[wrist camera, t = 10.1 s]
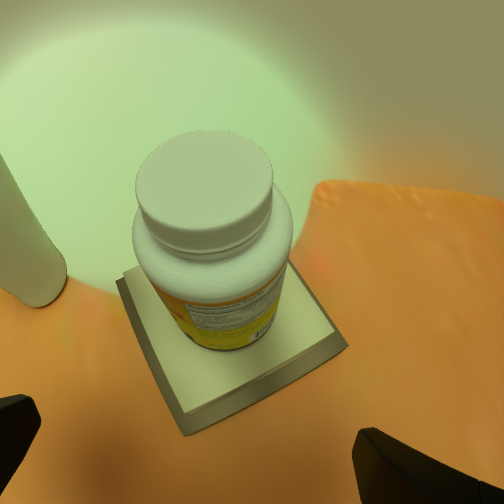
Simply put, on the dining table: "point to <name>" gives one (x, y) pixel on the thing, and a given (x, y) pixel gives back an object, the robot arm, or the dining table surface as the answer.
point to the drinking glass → (26, 249)
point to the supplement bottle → (213, 236)
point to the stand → (228, 363)
